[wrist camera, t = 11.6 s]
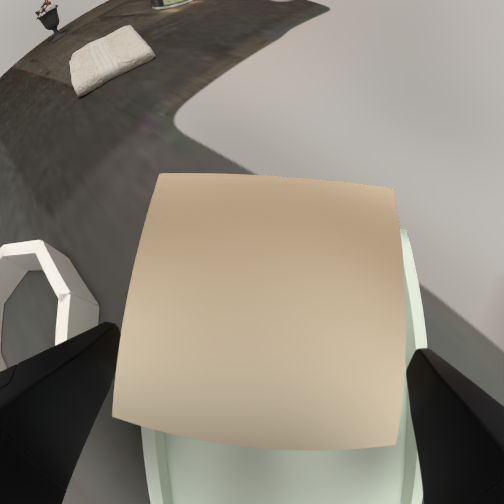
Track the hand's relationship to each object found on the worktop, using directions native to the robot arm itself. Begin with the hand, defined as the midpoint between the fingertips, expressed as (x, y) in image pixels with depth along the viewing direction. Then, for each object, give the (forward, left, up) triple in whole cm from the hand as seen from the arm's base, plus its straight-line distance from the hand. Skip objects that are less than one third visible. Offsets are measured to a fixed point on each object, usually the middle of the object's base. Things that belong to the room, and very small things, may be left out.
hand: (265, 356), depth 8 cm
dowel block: (+1, 0, -8) cm, 8 cm away
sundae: (+72, +50, -9) cm, 88 cm away
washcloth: (+40, +21, -10) cm, 46 cm away
